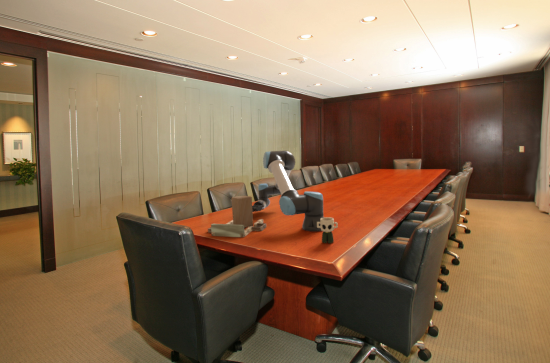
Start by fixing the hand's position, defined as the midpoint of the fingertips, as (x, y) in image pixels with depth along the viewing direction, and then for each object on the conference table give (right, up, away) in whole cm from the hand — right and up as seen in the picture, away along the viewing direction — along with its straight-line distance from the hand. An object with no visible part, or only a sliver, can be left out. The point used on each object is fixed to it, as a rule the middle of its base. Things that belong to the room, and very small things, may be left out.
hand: (247, 212), depth 214 cm
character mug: (+47, -11, -51) cm, 70 cm away
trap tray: (-5, -9, -15) cm, 18 cm away
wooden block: (-2, -9, -8) cm, 12 cm away
